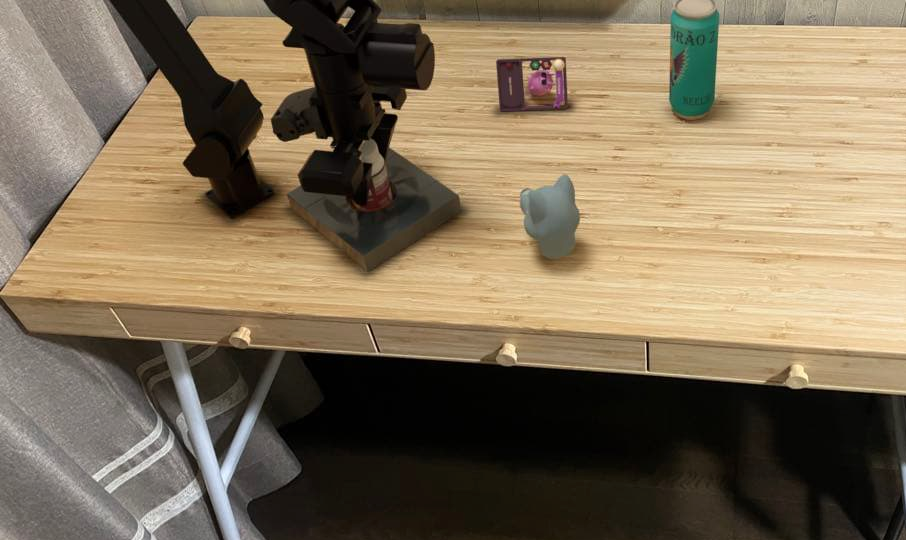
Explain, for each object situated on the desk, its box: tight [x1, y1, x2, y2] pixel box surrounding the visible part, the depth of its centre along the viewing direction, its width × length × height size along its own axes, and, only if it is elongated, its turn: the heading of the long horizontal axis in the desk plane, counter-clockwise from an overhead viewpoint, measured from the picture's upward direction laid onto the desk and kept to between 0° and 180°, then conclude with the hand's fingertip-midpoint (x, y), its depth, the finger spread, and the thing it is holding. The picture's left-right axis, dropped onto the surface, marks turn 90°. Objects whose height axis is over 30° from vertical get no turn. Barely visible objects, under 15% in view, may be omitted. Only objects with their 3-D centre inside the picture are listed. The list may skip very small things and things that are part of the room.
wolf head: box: [519, 173, 581, 260], centre depth 112 cm, size 6×9×10 cm
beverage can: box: [668, 0, 720, 121], centre depth 125 cm, size 6×6×15 cm
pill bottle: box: [352, 139, 394, 212], centre depth 118 cm, size 5×5×8 cm
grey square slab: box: [285, 146, 462, 272], centre depth 121 cm, size 16×14×2 cm
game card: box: [495, 56, 569, 112], centre depth 133 cm, size 7×5×9 cm
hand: (369, 190), depth 120 cm, fingers closed on pill bottle, 5 cm apart
